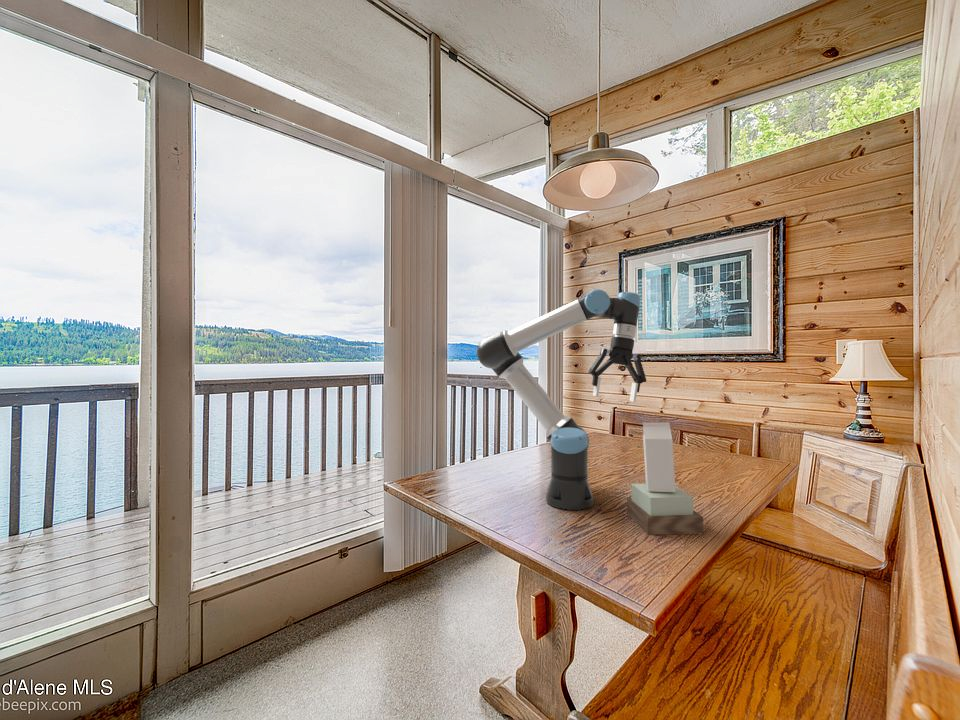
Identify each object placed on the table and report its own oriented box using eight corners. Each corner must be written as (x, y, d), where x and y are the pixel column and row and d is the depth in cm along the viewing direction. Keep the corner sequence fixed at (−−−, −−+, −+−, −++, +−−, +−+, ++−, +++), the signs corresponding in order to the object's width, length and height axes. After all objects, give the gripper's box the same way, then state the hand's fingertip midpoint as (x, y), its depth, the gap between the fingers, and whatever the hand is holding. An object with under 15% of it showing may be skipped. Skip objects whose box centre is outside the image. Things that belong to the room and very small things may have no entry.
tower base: (647, 536, 111) (647, 517, 111) (627, 514, 126) (627, 498, 126) (703, 535, 111) (703, 517, 111) (675, 514, 126) (675, 497, 126)
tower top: (650, 516, 112) (650, 497, 112) (631, 500, 124) (631, 483, 124) (693, 514, 113) (693, 496, 113) (670, 499, 125) (670, 482, 125)
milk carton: (675, 492, 114) (671, 424, 114) (648, 492, 116) (644, 424, 116) (671, 485, 121) (667, 420, 121) (645, 484, 123) (641, 421, 123)
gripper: (593, 331, 136) (584, 394, 136) (662, 343, 140) (653, 404, 139) (584, 332, 144) (575, 392, 144) (650, 343, 147) (641, 402, 147)
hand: (614, 398), depth 142 cm, fingers open, 13 cm apart
